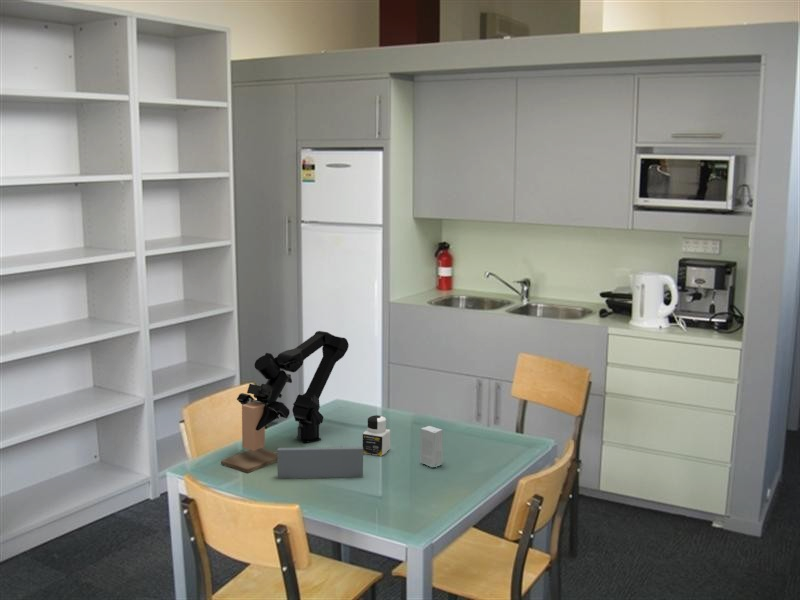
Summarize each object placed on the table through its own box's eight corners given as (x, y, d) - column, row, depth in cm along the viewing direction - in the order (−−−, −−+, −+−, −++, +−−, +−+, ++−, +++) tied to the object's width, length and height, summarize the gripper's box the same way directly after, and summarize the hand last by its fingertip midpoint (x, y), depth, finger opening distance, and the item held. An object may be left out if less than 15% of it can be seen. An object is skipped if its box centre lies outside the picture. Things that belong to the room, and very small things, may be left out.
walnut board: (257, 450, 281) (257, 447, 280) (283, 458, 274) (283, 454, 274) (221, 464, 268) (221, 460, 268) (248, 473, 261) (248, 469, 261)
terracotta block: (264, 446, 270) (264, 404, 268) (253, 450, 266) (253, 408, 264) (253, 442, 273) (253, 401, 270) (242, 447, 269) (241, 405, 266)
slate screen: (278, 471, 263) (278, 443, 262) (361, 469, 266) (362, 442, 264) (277, 478, 257) (277, 450, 256) (362, 476, 260) (363, 448, 258)
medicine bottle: (362, 453, 280) (362, 418, 278) (370, 446, 286) (371, 412, 284) (381, 456, 277) (382, 421, 275) (390, 449, 284) (390, 415, 282)
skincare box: (442, 465, 270) (443, 429, 268) (433, 469, 267) (434, 432, 265) (428, 460, 274) (429, 425, 272) (419, 463, 271) (420, 428, 269)
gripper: (240, 368, 274) (215, 409, 267) (283, 378, 264) (259, 421, 257) (257, 387, 282) (234, 427, 275) (300, 396, 272) (276, 439, 265)
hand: (250, 428), depth 268 cm, fingers closed on terracotta block, 5 cm apart
